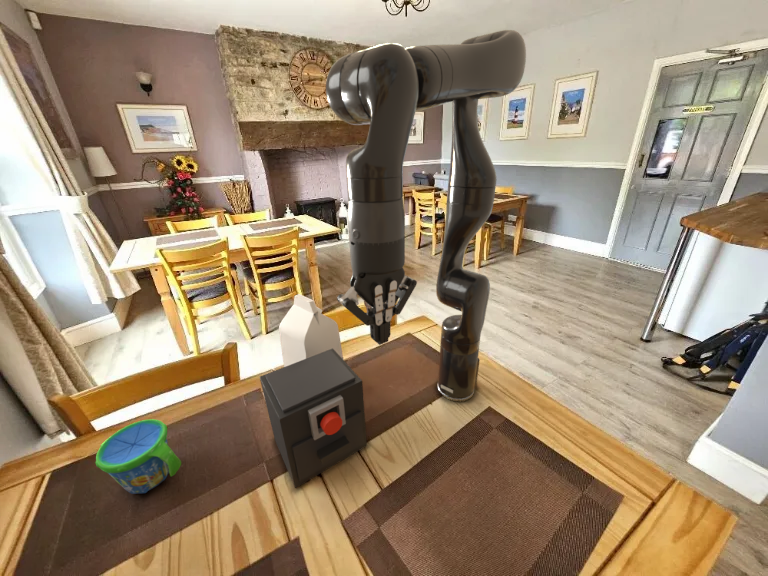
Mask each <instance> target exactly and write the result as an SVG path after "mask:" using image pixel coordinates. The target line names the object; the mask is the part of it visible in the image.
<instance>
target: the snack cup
mask: <svg viewBox="0 0 768 576" xmlns="http://www.w3.org/2000/svg"><path fill="white" fill-rule="evenodd" d="M168 443H169V442H168V426H167V424H165V423H164V422H163V421H162V420H159V419H154V418H152V419H151V418H149V419H143V420H138V421H135V422H132V423H130V424H128V425H125V426H124V427H122V428H120V429H119V430H118V431H116V432H115V433H113V434H112V435H110V436H109V437H108V438H106V439H105V440H104V441H103V442H102V443H101V444H100V446H99V448H98V450H97V452H96V454H95V455H96V456H95V462H94V463H95V465H96V467H97V468H99V469H100V470H101V471H103V472H104V473H107V474H108V475H109V476H110V477H111V478H112V479H113V480H114V481H115V482H116V483H117V484H119V485H120V486H121V487H122V488H123V489H124V490H125V491H126V492H128V494H132V495H136V494H146V493H148V491H151V490H153V489H154V488H156V487H157V486H159V485H160V484H161V483H162V482H164V481H165V480H166V479H167V477H168V475H169V477H171V478H172V477H173V476H175V475H176V474H177V473H178V471H179V470H180V468H181V466H182V460H181V459H180V458H179V457H178V456H177V455H176V453H175V452H174V451H173V450H172V448H171V447H170V446H169V444H168Z"/></svg>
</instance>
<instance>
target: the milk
mask: <svg viewBox="0 0 768 576" xmlns="http://www.w3.org/2000/svg"><path fill="white" fill-rule="evenodd" d="M293 297H294V298H293V304H292V306H291V307H290V308H289V310H288V311H287V313H286V314H285V315H284V317H283V318H282V320H281V321H280V323H279V326H278V332H279V333H278V334H279V341H280V348H281V356H282V363H283V367H286V366H288V365H291V364H294V363H296V362H299V361H301V360H304V359H306V358H309V357H312V356H314V355H317V354H319V353H322V352H325V351H327V350H330V349H332V348H333V349H334V350H335V351H336V352H337V353H338V355H339V356H340V357H341V358H342V359H343V360H344V355H343V348H342V342H341V335H340V329H339V325H338V323H337V322H336V320H335V319H332V318H331V317H329V316H327V315H325V314H323V313H322V312H323V311H324V310H323V309H322V308H320V307H318V306H317V305H316V303H315V300H314V299H311V298H309V297H307V296H305V295H303V294H300V293H298V294H296V295H294V296H293Z"/></svg>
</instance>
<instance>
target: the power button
mask: <svg viewBox="0 0 768 576" xmlns="http://www.w3.org/2000/svg"><path fill="white" fill-rule="evenodd" d="M342 423H343V422H342V419H341V418H340V416H339V415H338V413H336V412H331V413H328V414H327V415H325V416H324V417H323V419H322V420H321V428H322V429H323V431H324V433H325V434H327V435H332V434H334V433H336V432H337V431H338V430H339V429H340V428H341V426H342Z"/></svg>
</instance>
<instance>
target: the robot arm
mask: <svg viewBox="0 0 768 576" xmlns="http://www.w3.org/2000/svg"><path fill="white" fill-rule="evenodd" d="M526 63H527V47H526V42H525V39H524V37H523V36H522V34H520V32H519V31H517V30H513V29H503V30H498V31H494V32H490V33H486V34H481V35H477V36H474V37H471V38H466V39H465V40H463V41H462V42H461V43H460V44H457V43H455V44H425V45H414V46H410V47H406V48H405V47H404V46H403V45H401V44H399V43H394V42H389V43H388V42H387V43H383V44H378V45H376V46H373V47H369V48H365V49H362V50H358V51H354V52H351V53H348V54H345V55H343V56H341V57H340V58H338V59H337V60H336V61H335V62H334V63H333V64H332V65H331V67H330V69H329V71H328V73H327V77H326V79H325V80H326V81H325V96H326V100H327V103H328V105H329V108H330V110H331V111H332V112H333V113H334V114H335V116H336V117H338V118H339V120H341V121H343V122H344V123H346V124H349V125H353V126H363V125H365V126H366V125H369V129H368V133H367V137H366V141H365V143H363V145H361V146H359V147H357V148H353V149H352V150H350V151H349V152H348V153H347V155H346V158H345V173H346V174H345V177H346V189H347V190H346V191H347V199H348V200H347V229H348V245H349V258H350V267H351V271H352V275H351V279H350V281H349V286H350V287H349V288H348V289H347V291H346V292H345V293H344V294H343V293H340V294H338V295H337V297H336V300H337V302H338V303H339V304H340V305H342V306H343V307H344V308H345V309H346V310H348V311H349V312H350V314H352V315H353V316H354V317H356V318H357V319H358V320H360V322H362V323H363V324H364V325H365V326H367V327H368V326H369V337H370V338H371V339H372V340H373V341H374V342H375V343H377V345H380V346H381V345H383V344H385V343H388V342H389V338H390V337H391V321H392V320H393V317H394V316H395V315H396V316H397V315H400V314H401V313H402V311H403V310H404V308H405V306H406V304H407V302H408V300H409V299H410V297H411V296H412V294H413V291H414V290H415V288H416V286H417V284H418V281H417V280H416V279H414V278H412V277H410V276H408V275H406V271H405V269H404V265H405V263H406V248H405V247H406V244H405V243H406V215H405V213H406V212H405V206H404V198H403V197H404V161H405V156H406V152H407V148H408V144H409V140H410V136H411V131H412V127H413V125H414V124H413V122H414V119H415V116H416V113H417V112H422V111H425V110H430V109H433V108H436V107H439V106H442V105H445V104H449V103H451V102H452V103H451V104H452V107H451V108H452V113H451V114H452V121H451V122H452V126H451V127H452V128H451V129H452V131H451V149H450V150H451V151H450V163H449V174H448V183H447V191H446V209H445V210H446V211H445V221H444V222H445V223H444V233H443V243H442V248H441V249H442V250H441V255H440V261H439V266H438V272H437V278H436V289H435V291H436V297H437V300H438V302H439V303H441V304H443V305H444V306H447V307H448V308H450V309H451V308H452V309H454V310H456V311H459V312H461V314H453V315H450V316H447V317H446V318H445V319H444V320H442V323H441V326H440V327H441V329H440V346H439V360H438V361H439V362H438V363H439V364H438V376H437V385H436V386H437V392H439V394H440V395H441V396H442V397H443V398H445V399H446V400H449V401H450V402H455V403H457V402H458V403H460V402H466V401H469V400H470V399H471V398H473V396H474V395H475V390H476V389H477V385H478V384H477V383H478V378H479V377H478V376H479V367H480V362H481V361H480V360H481V359H480V358H479V352H480V343H481V335H482V330H483V328H484V324H485V321H486V314H487V309H488V304H489V298H490V292H491V284H490V283H491V282H490V280H489V278H488V277H487V276H486V275H484V274H481V273H478V272H474V271H471V270H468V269H465V268H464V267H463V264H464V257H465V253H466V250H467V248H468V246H469V244H470V242H471V241H472V240H473V238H474V237H475V236H476V235H477V234H478V232H480V230H481V229H482V227H483V226H484V225H485V224H486V222H487V221H488V220H489V218H490V216H491V214H492V212H493V208H494V203H495V195H496V194H495V193H496V187H497V179H498V178H497V171H496V169H495V166H494V163H493V161H492V158H491V156H490V154H489V152H488V150H487V148H486V146H485V144H484V141H483V139H482V136H481V132H480V128H479V120H478V119H479V118H478V106H479V105H478V104H479V100H484V99H495V98H501V97H504V96H507V95H510V94H511V93H513V92H514V91H515V90H516V89H517V88H518V87H519V85H520V84H521V82H522V80H523V77H524V74H525V71H526ZM357 296H359V297H360V299H362V300H363V304H364V306H365V308H366V312H365V311H364V310H363V309H362V308H360V307H359V304H360V303H359V298H358V297H357Z"/></svg>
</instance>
